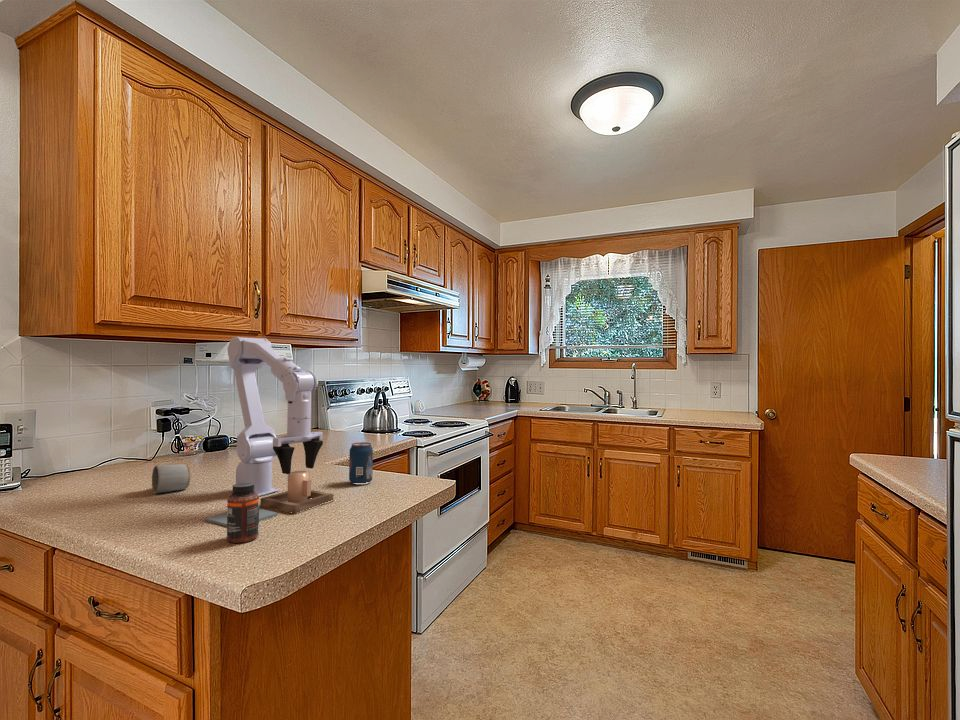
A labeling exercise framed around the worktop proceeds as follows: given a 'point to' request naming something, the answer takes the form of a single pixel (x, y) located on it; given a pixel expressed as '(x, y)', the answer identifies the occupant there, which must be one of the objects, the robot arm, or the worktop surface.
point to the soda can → (360, 463)
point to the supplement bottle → (242, 513)
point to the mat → (222, 517)
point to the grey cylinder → (170, 478)
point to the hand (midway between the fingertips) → (298, 470)
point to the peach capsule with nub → (298, 486)
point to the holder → (280, 503)
